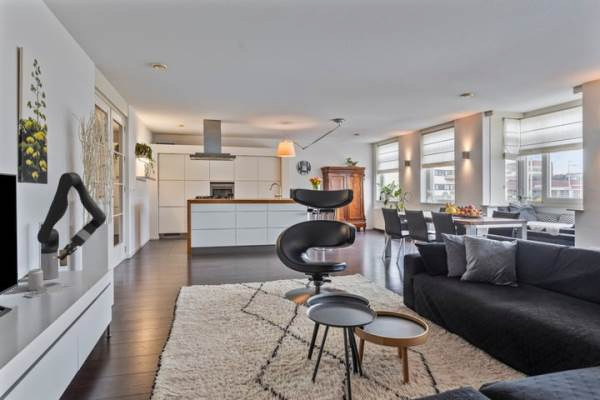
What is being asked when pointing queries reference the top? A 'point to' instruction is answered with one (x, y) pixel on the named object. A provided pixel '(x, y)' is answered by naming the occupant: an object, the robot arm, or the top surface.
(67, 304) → the top surface
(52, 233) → the robot arm
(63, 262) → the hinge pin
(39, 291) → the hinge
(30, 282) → the can
